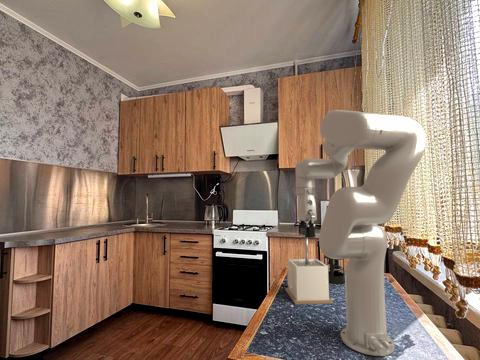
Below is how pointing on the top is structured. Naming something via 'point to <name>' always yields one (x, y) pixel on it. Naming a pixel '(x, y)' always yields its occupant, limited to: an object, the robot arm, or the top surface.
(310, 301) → the white open box
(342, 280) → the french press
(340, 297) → the top surface
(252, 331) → the top surface
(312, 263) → the plunger
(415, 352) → the top surface
